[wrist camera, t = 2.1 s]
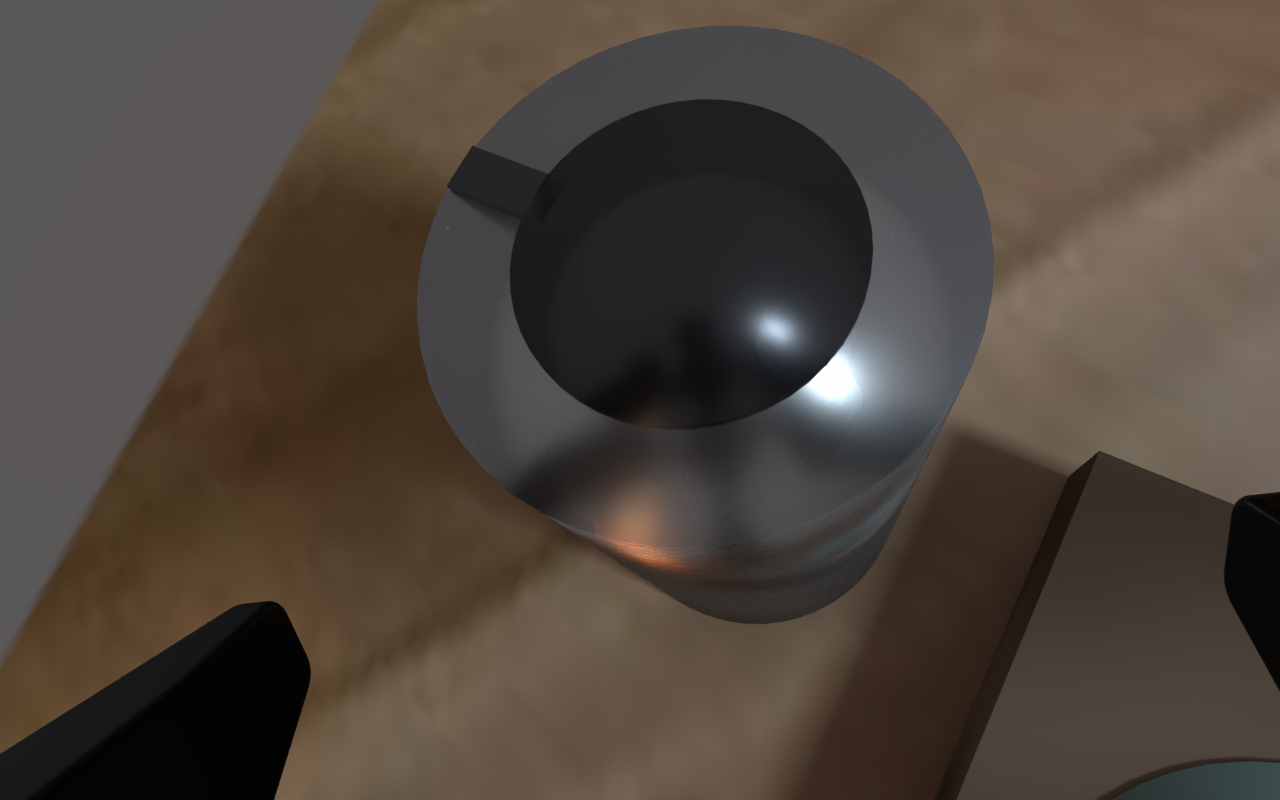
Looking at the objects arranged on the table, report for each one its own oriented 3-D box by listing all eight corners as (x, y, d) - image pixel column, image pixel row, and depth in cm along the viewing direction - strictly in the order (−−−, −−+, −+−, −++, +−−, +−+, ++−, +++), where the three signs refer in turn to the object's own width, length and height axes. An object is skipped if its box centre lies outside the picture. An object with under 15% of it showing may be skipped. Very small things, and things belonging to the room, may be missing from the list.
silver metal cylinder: (822, 679, 17) (833, 668, 7) (567, 541, 19) (308, 387, 9) (944, 415, 18) (1091, 102, 9) (693, 312, 20) (580, -35, 11)
